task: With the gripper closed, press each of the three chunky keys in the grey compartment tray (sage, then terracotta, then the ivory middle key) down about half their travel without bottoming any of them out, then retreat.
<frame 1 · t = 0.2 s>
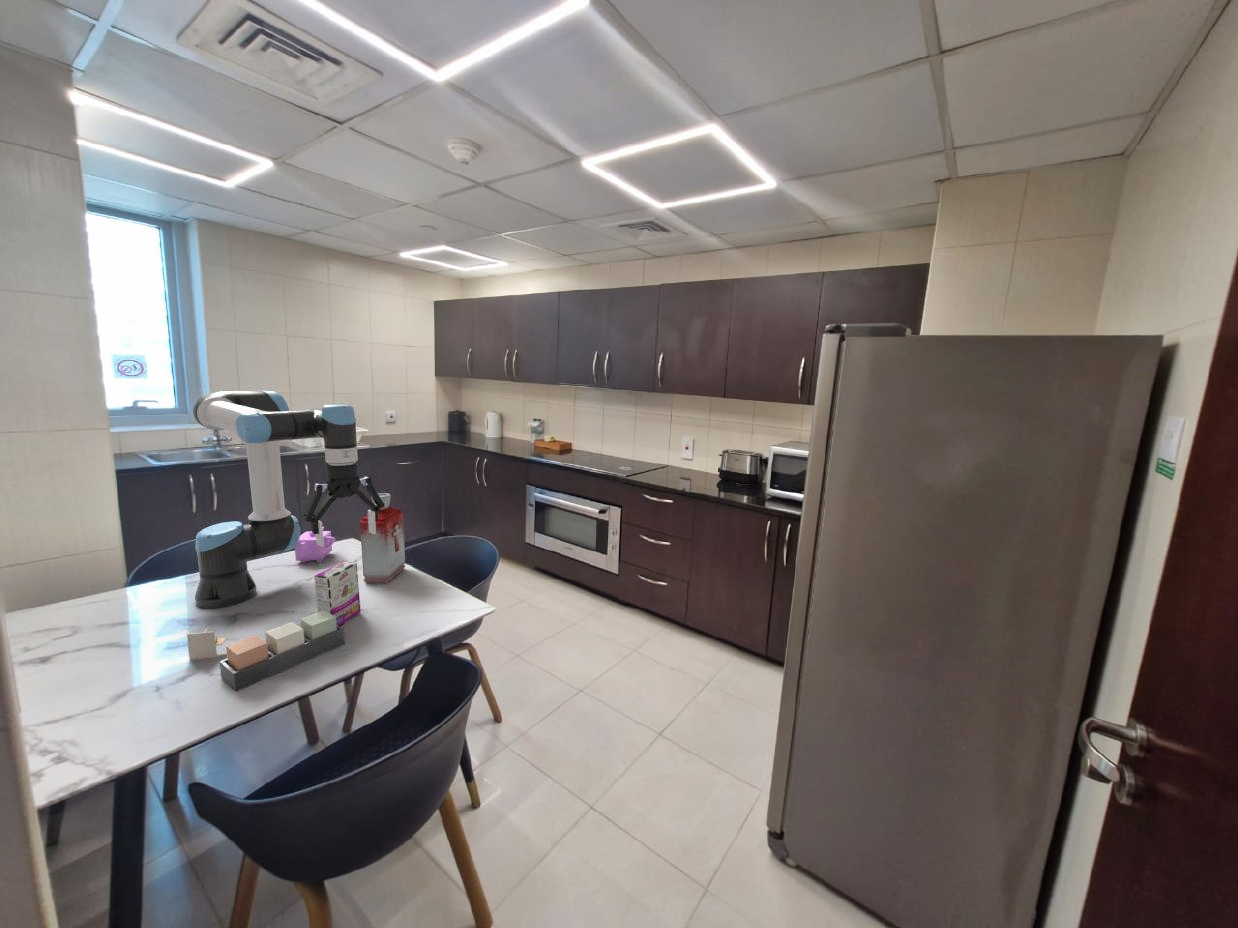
hand: (347, 538, 134), 27 cm above the table, fingers open, 13 cm apart
sage key: (318, 626, 129), point 6 cm above the table, slide at 0.0 cm
grey compartment tray: (287, 660, 123), on the table
candy bar box: (340, 621, 143), on the table
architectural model: (205, 658, 124), on the table
bottle: (385, 576, 174), on the table
terracotta key: (247, 654, 115), point 6 cm above the table, slide at 0.0 cm
teapot: (314, 559, 187), on the table
ivory key: (285, 639, 122), point 6 cm above the table, slide at 0.0 cm
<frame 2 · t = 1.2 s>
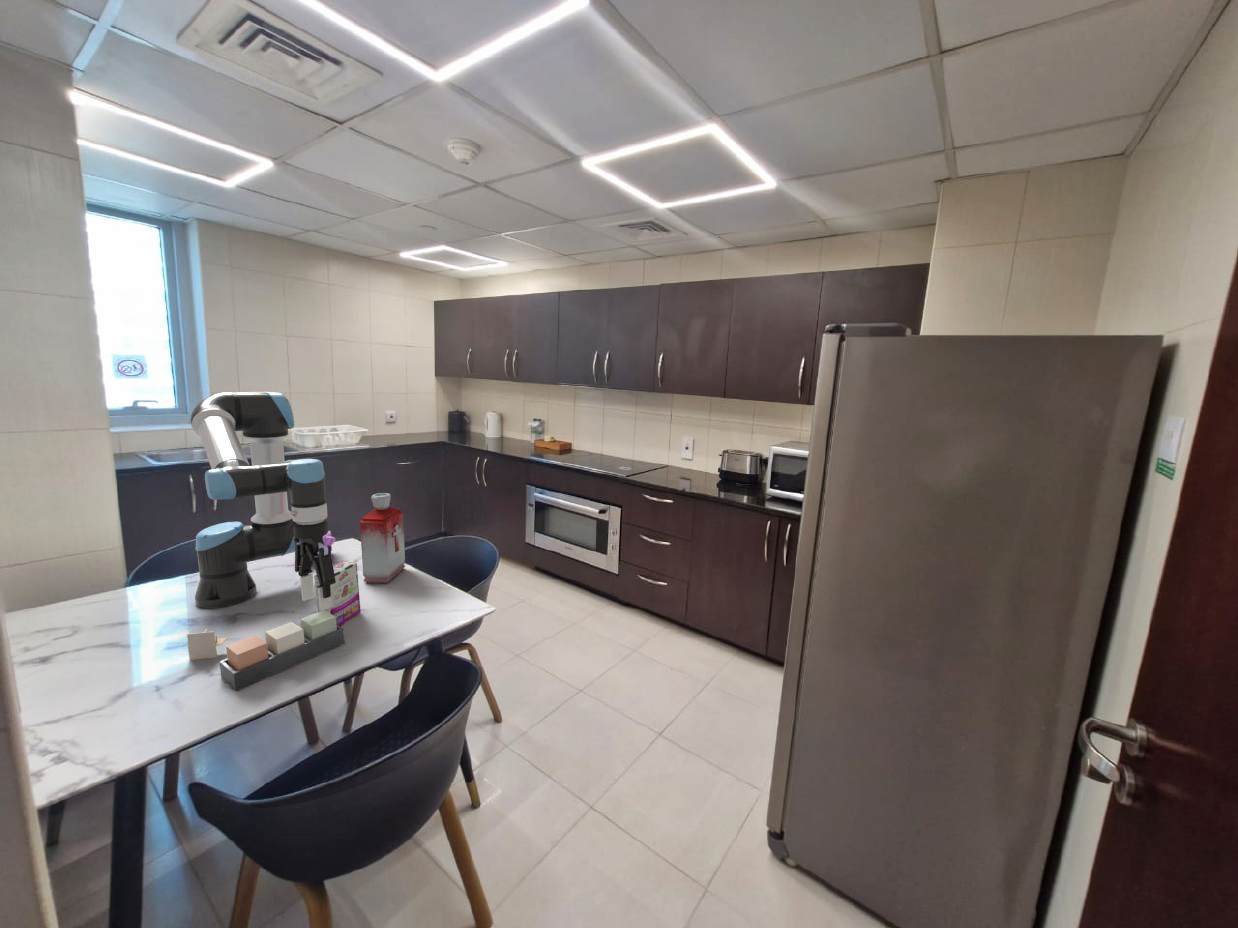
hand: (317, 603, 128), 12 cm above the table, fingers open, 8 cm apart
nothing on the table moved.
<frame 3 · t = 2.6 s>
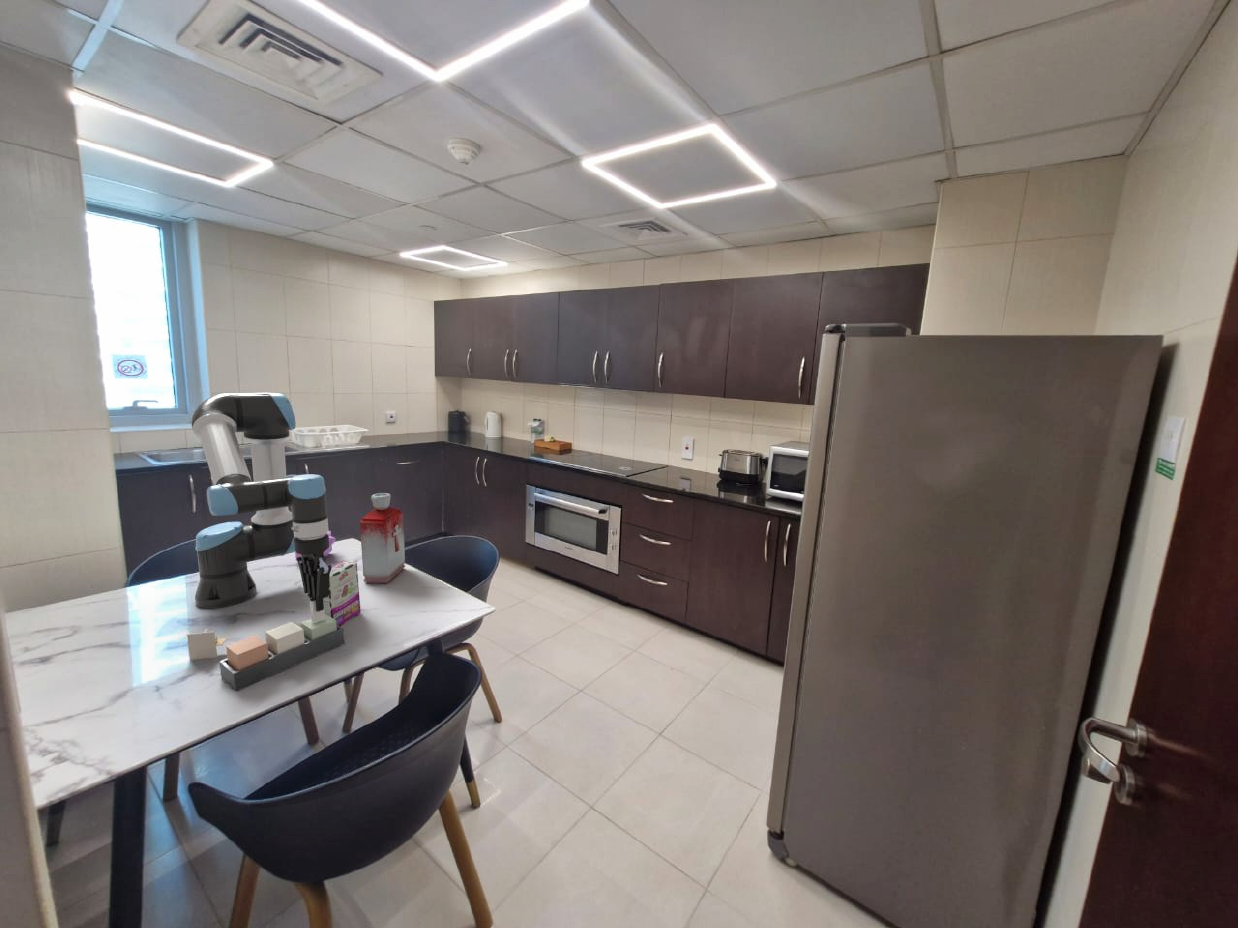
hand: (318, 620, 128), 7 cm above the table, fingers closed
sage key: (319, 630, 129), point 5 cm above the table, slide at 1.1 cm, touching gripper
everything else where it was.
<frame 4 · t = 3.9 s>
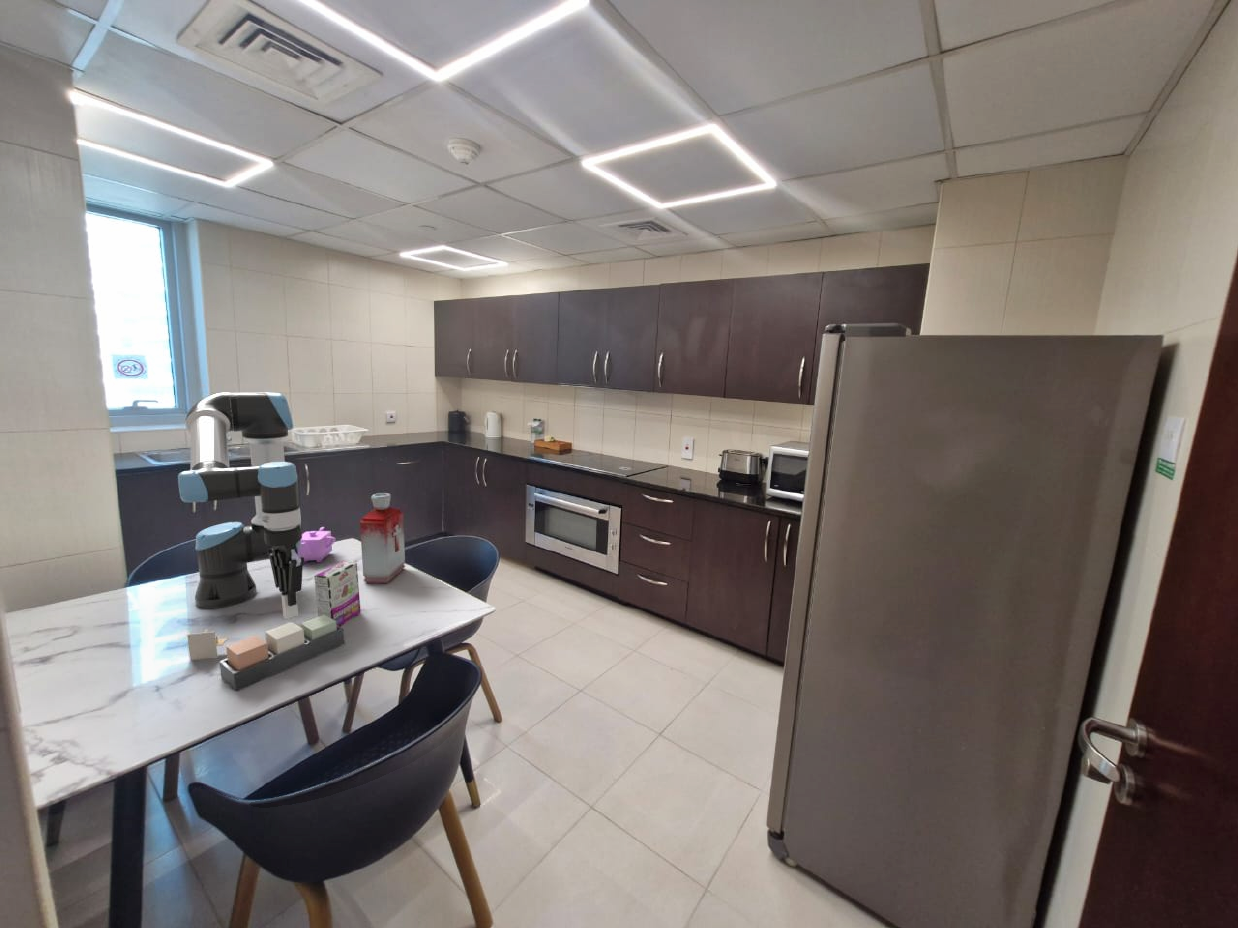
hand: (290, 615, 122), 11 cm above the table, fingers closed
sage key: (319, 630, 129), point 4 cm above the table, slide at 1.3 cm
everything else where it was.
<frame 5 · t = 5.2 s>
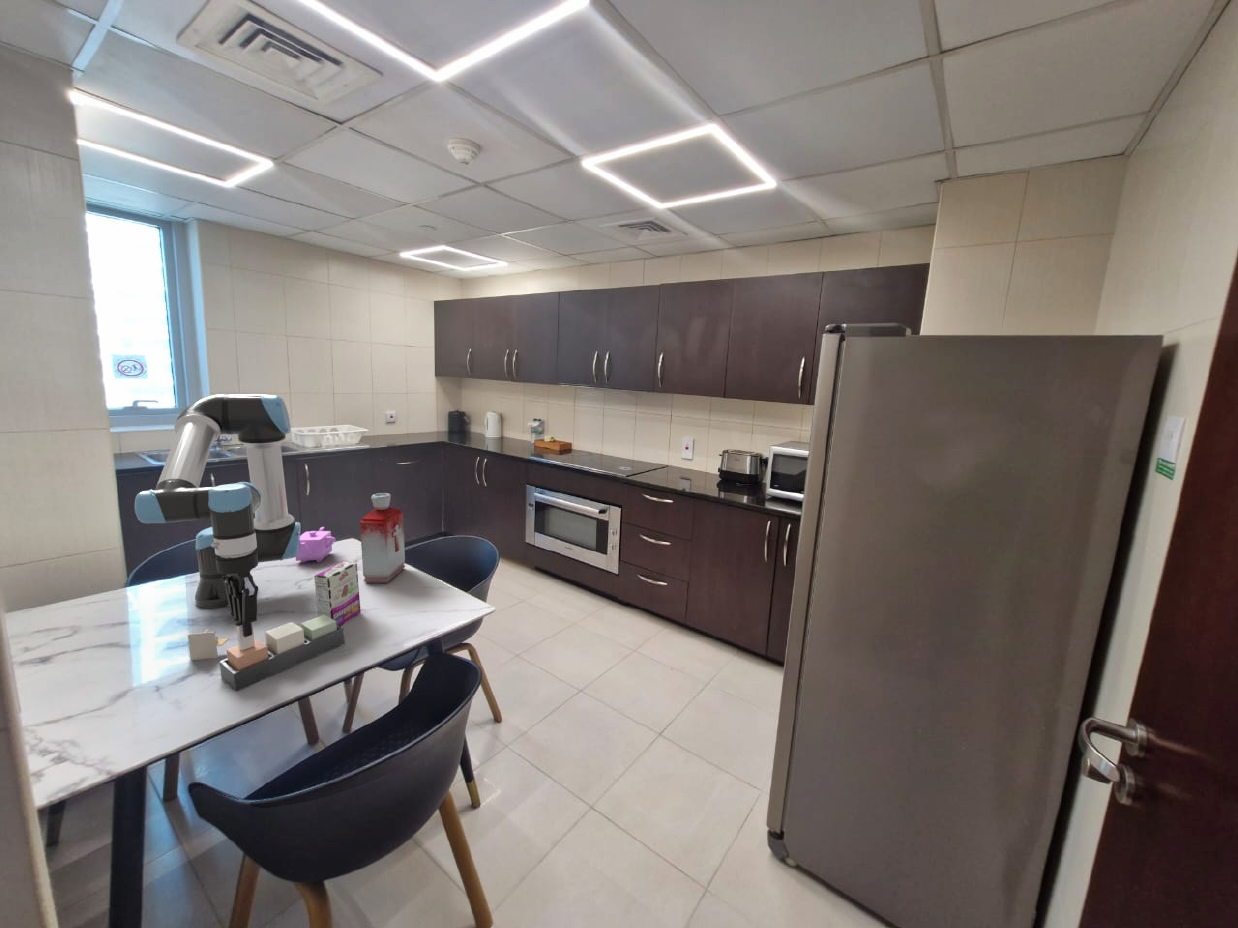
hand: (246, 646, 115), 8 cm above the table, fingers closed
terracotta key: (248, 657, 116), point 5 cm above the table, slide at 0.8 cm, touching gripper
everything else where it was.
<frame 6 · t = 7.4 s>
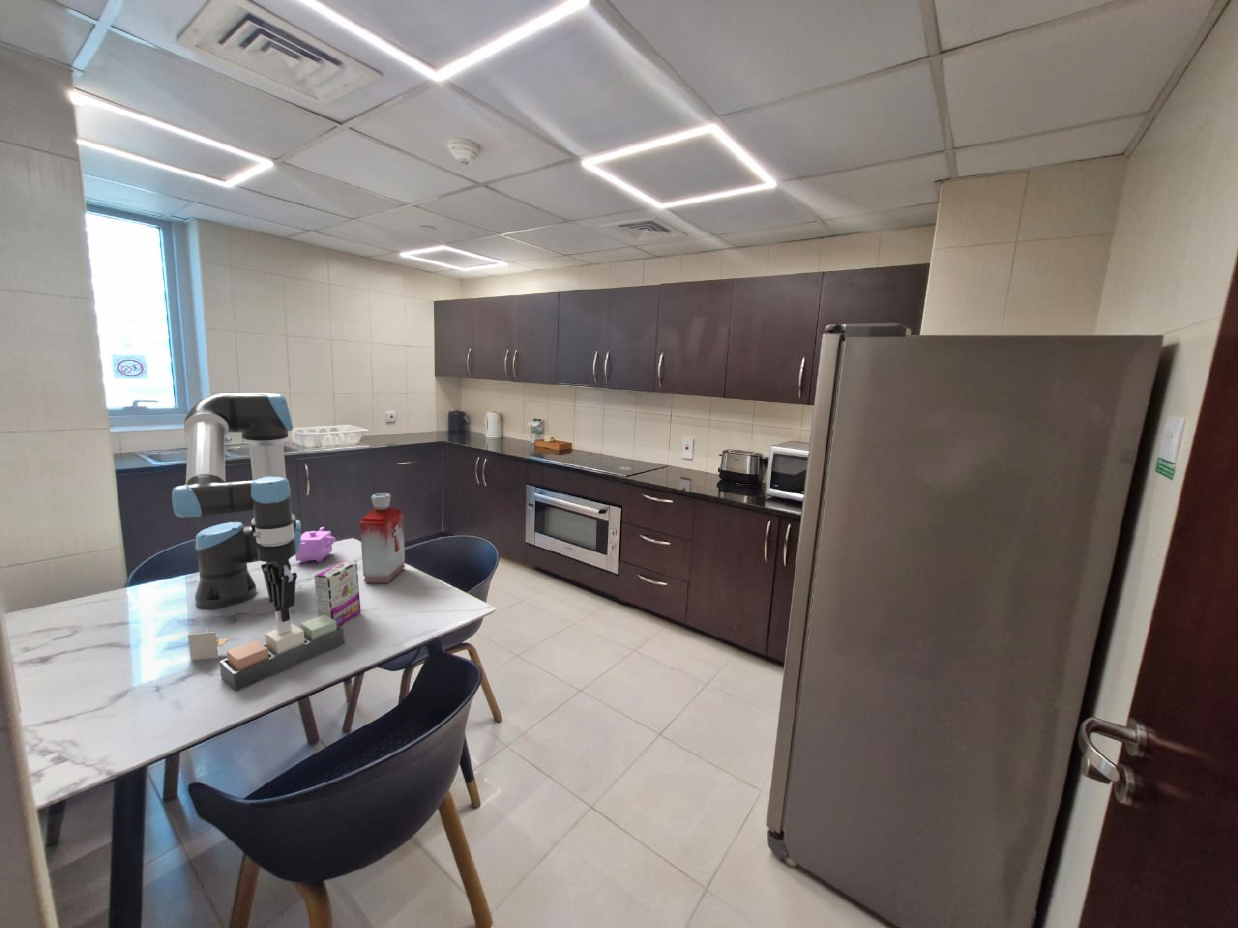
hand: (284, 631, 122), 8 cm above the table, fingers closed
terracotta key: (248, 659, 116), point 4 cm above the table, slide at 1.3 cm
ivory key: (285, 641, 122), point 5 cm above the table, slide at 0.5 cm, touching gripper
everything else where it was.
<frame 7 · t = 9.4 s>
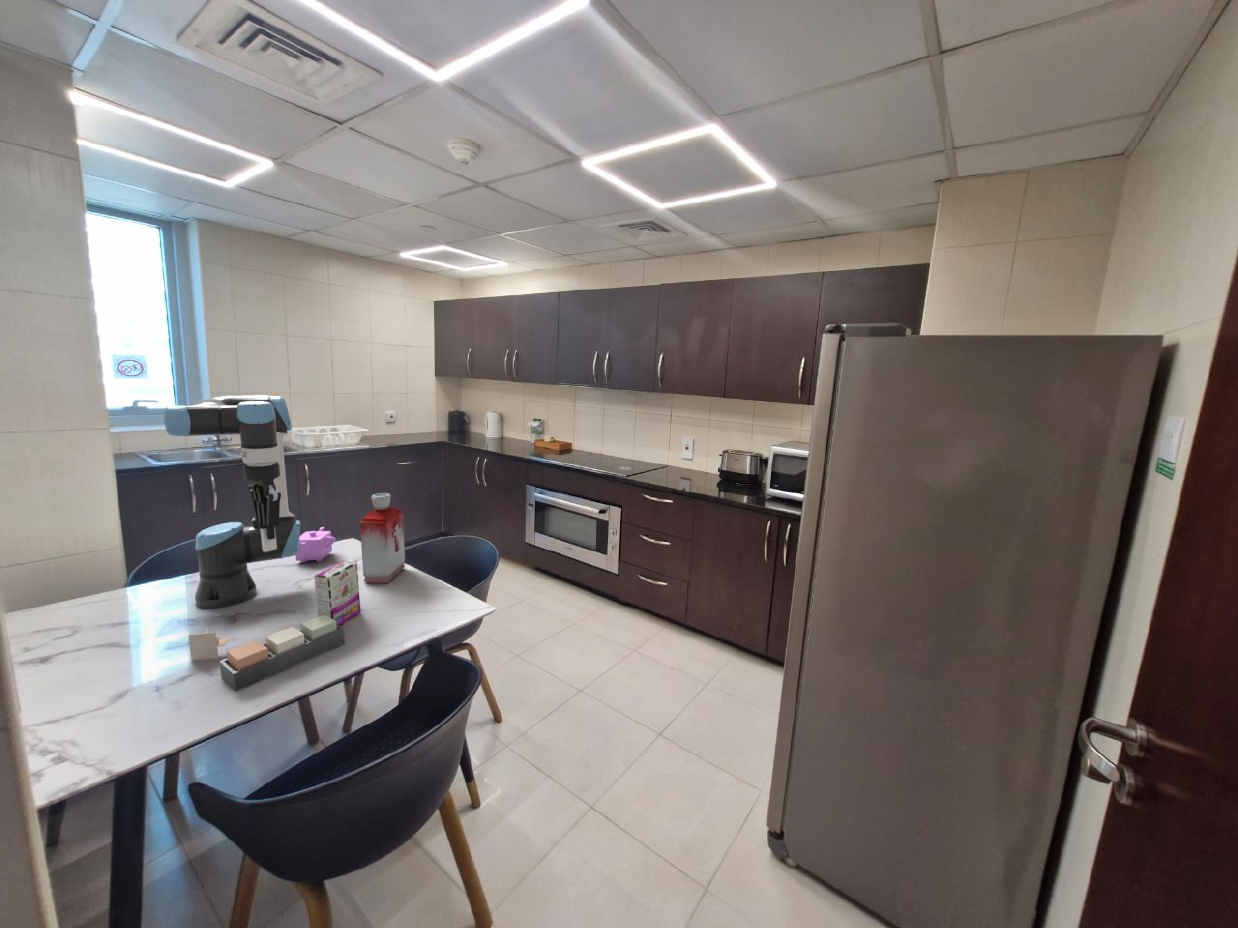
hand: (269, 549, 129), 25 cm above the table, fingers closed
ivory key: (285, 644, 122), point 4 cm above the table, slide at 1.3 cm
everything else where it was.
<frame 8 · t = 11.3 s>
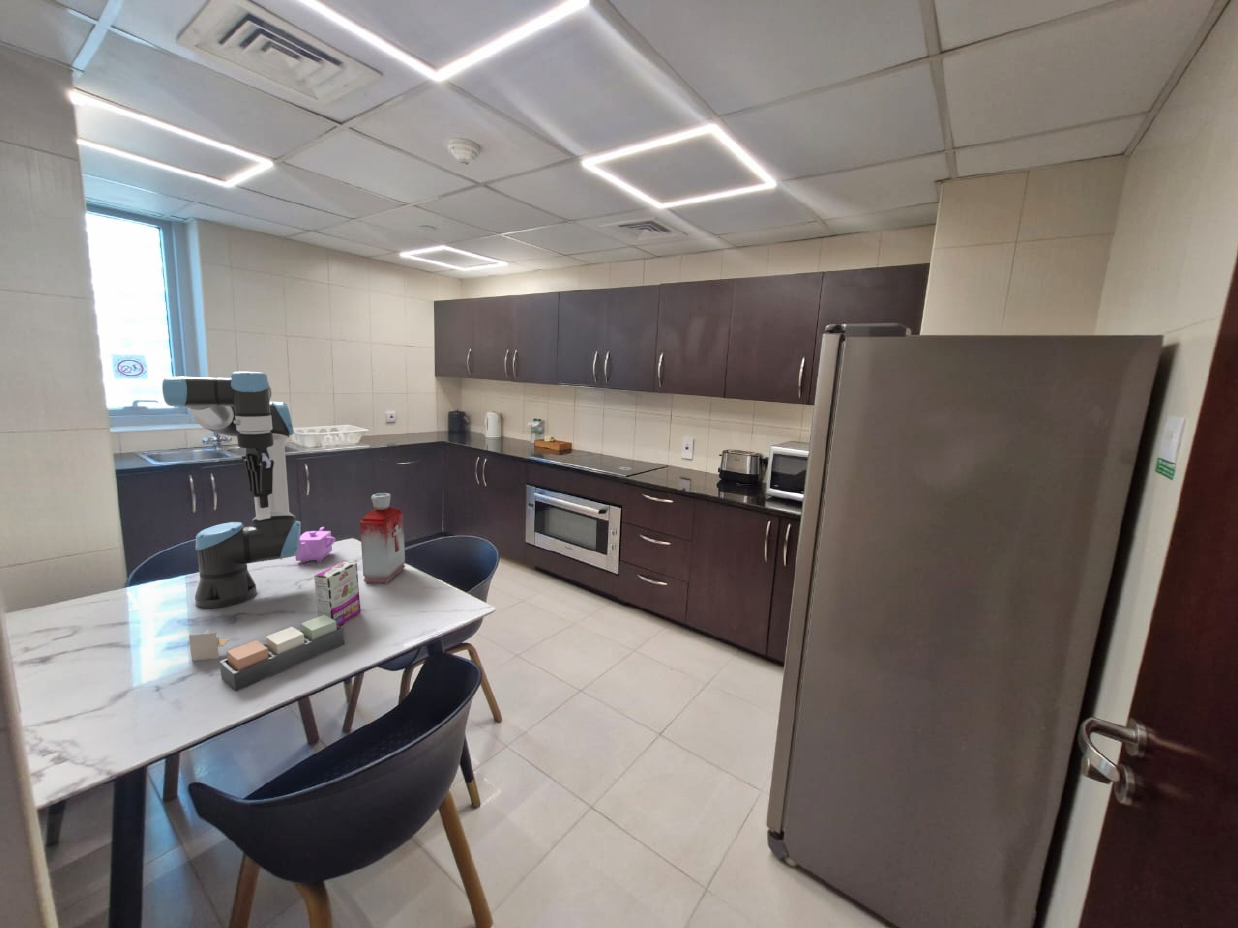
hand: (263, 518, 131), 32 cm above the table, fingers closed
nothing on the table moved.
at the end: sage key slide at 1.3 cm; terracotta key slide at 1.3 cm; ivory key slide at 1.3 cm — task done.
